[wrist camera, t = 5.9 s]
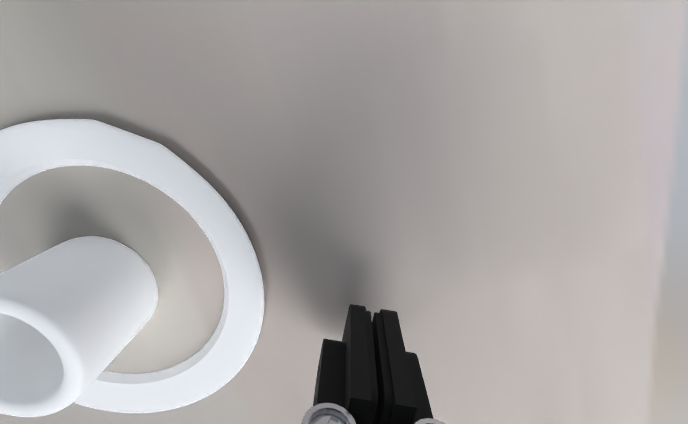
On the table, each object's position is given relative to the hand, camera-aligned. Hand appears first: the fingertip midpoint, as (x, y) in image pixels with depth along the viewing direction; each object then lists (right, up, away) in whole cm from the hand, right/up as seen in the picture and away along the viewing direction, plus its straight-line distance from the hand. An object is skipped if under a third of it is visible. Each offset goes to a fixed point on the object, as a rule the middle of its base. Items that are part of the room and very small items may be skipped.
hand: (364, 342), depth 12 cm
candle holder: (-10, +2, +1) cm, 10 cm away
